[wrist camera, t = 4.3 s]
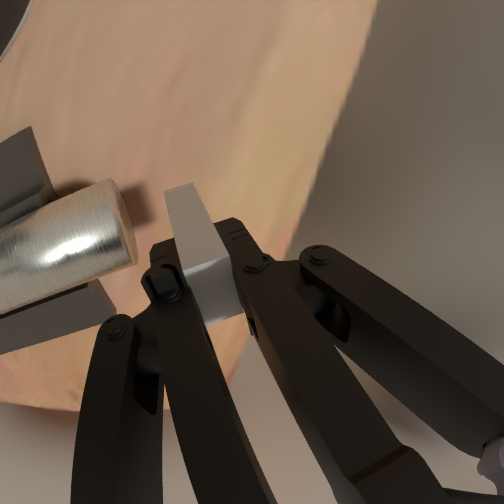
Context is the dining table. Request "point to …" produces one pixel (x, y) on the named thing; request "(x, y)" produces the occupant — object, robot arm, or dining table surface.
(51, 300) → the twin arch cradle
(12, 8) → the black tall rounded dome
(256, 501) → the robot arm
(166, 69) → the dining table surface
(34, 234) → the tube
